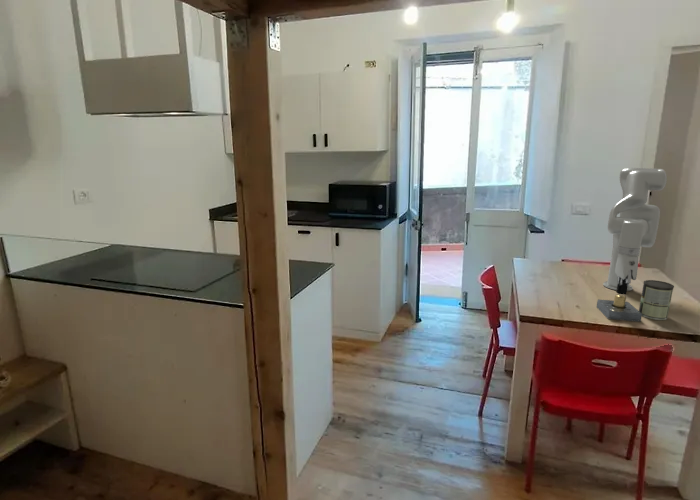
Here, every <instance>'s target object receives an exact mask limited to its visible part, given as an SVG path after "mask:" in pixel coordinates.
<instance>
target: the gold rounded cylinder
mask: <svg viewBox="0 0 700 500" xmlns="http://www.w3.org/2000/svg"><path fill="white" fill-rule="evenodd" d="M613 301H614V304H613V307H616V308H622V309H624V306H625V302H627V296H625V294H618V293H617V294H615V295H614V299H613Z"/></svg>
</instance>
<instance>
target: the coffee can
mask: <svg viewBox="0 0 700 500" xmlns="http://www.w3.org/2000/svg"><path fill="white" fill-rule="evenodd" d="M674 288H675V286H674V284H672V283H670V282H666V281H662V280H655V279H646V280H644V281H643V285H642V291H641V295H640V296H641V297H640V302H639V307H638V308H639V309H638V311H639V312H641V313H642V317H643V318H646V319H649V320H656V321H666V320H668V318H669V317H668V316H669V311H670V306H671V301H672V297H673V292H674Z"/></svg>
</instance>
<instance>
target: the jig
mask: <svg viewBox="0 0 700 500" xmlns="http://www.w3.org/2000/svg"><path fill="white" fill-rule="evenodd" d="M613 304H614V300H611V299H609V300H608V299H597V301H596V308H597V309H598V310H599V311H600V312H601V313H602V314H603V315H604V316H605V318H607V320H614V321H615V320H616V321H626V322H628V321H629V322H636V323H637V322H639V323H640V322H641V321H642V317H643V316H642V313H641V312H639V309H637V308H636V307H635V306H633V304H631V303H630V302H629V301H625V306H624V309H622V308H616V307H613Z"/></svg>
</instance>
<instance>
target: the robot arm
mask: <svg viewBox="0 0 700 500" xmlns="http://www.w3.org/2000/svg"><path fill="white" fill-rule="evenodd" d="M667 181H668V177H667V172H666V170H665V169H663V168H653V167H652V168H651V167H649V168H647V167H627V168H623V169H621V171H620V173H619V183H620V186H621V190H622V197H621V198H622V199H621V200H619V201H617V203H615V204H614V205H613V206H612V207H611V210H610V211H609V216H608V222H607V231H608V232H609V233H610V234H611V235H612V252H611V258H610V264H609V270H608V276H607V281H604V282H603V287H605V288H608V289H611V290H615V291H616V293H617V294H619V295H627V294H628V293H627V292H630V291H633V288H634V287H633V285H630V284H631V283H632V282H631V281H636V280H637V277H638V276H637V275H638V268H639V256H640V251H641V248H652V247H653V246H654V245H655V242H656V239H657V235H658V230H659V229H658V228H659V224H660V216H661V209H660V207H659V206H657V205H656V204H655V205H654V204H646V203H647V202H648V195H649V191H662V190H664V188H665V187H666V185H667ZM618 215H619V216H618Z"/></svg>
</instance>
